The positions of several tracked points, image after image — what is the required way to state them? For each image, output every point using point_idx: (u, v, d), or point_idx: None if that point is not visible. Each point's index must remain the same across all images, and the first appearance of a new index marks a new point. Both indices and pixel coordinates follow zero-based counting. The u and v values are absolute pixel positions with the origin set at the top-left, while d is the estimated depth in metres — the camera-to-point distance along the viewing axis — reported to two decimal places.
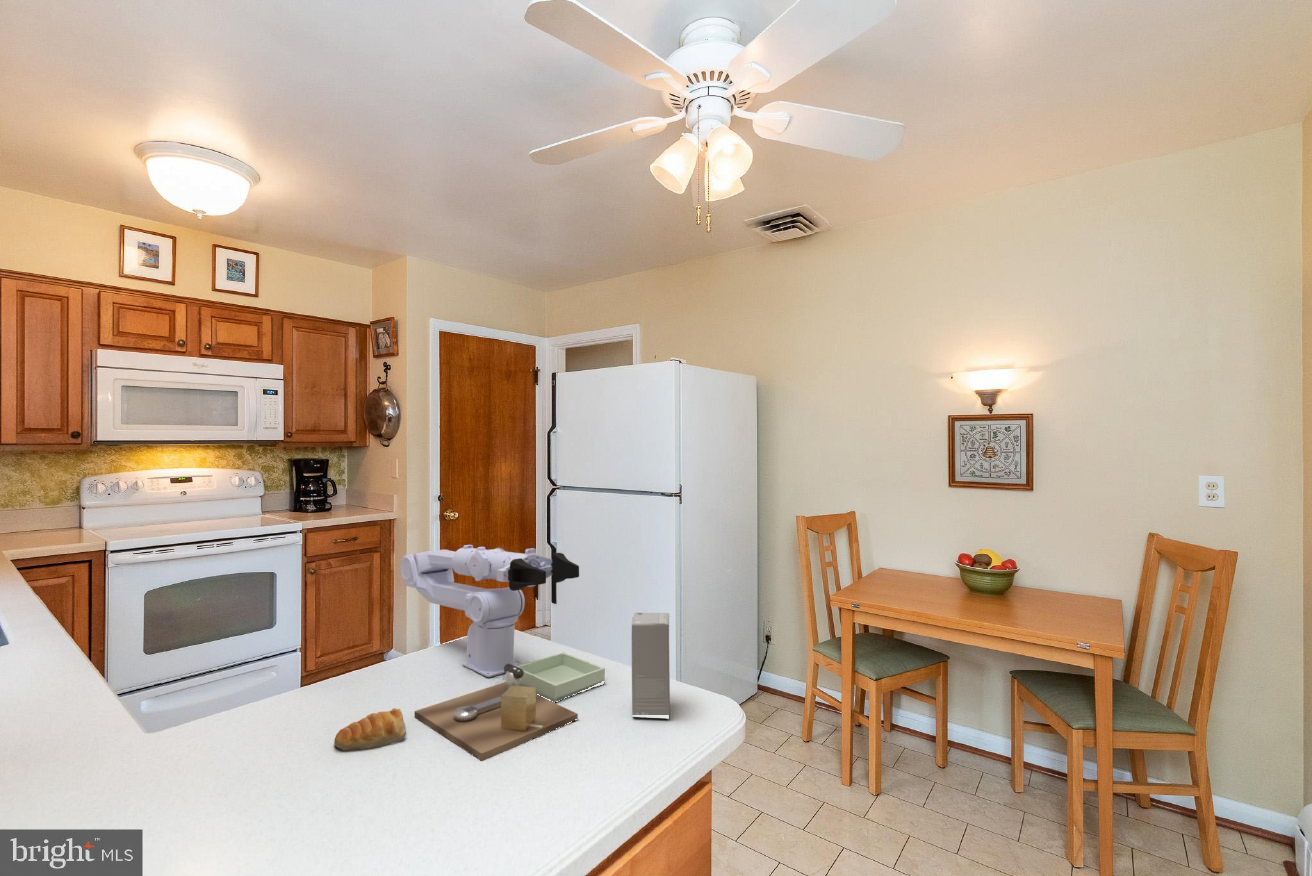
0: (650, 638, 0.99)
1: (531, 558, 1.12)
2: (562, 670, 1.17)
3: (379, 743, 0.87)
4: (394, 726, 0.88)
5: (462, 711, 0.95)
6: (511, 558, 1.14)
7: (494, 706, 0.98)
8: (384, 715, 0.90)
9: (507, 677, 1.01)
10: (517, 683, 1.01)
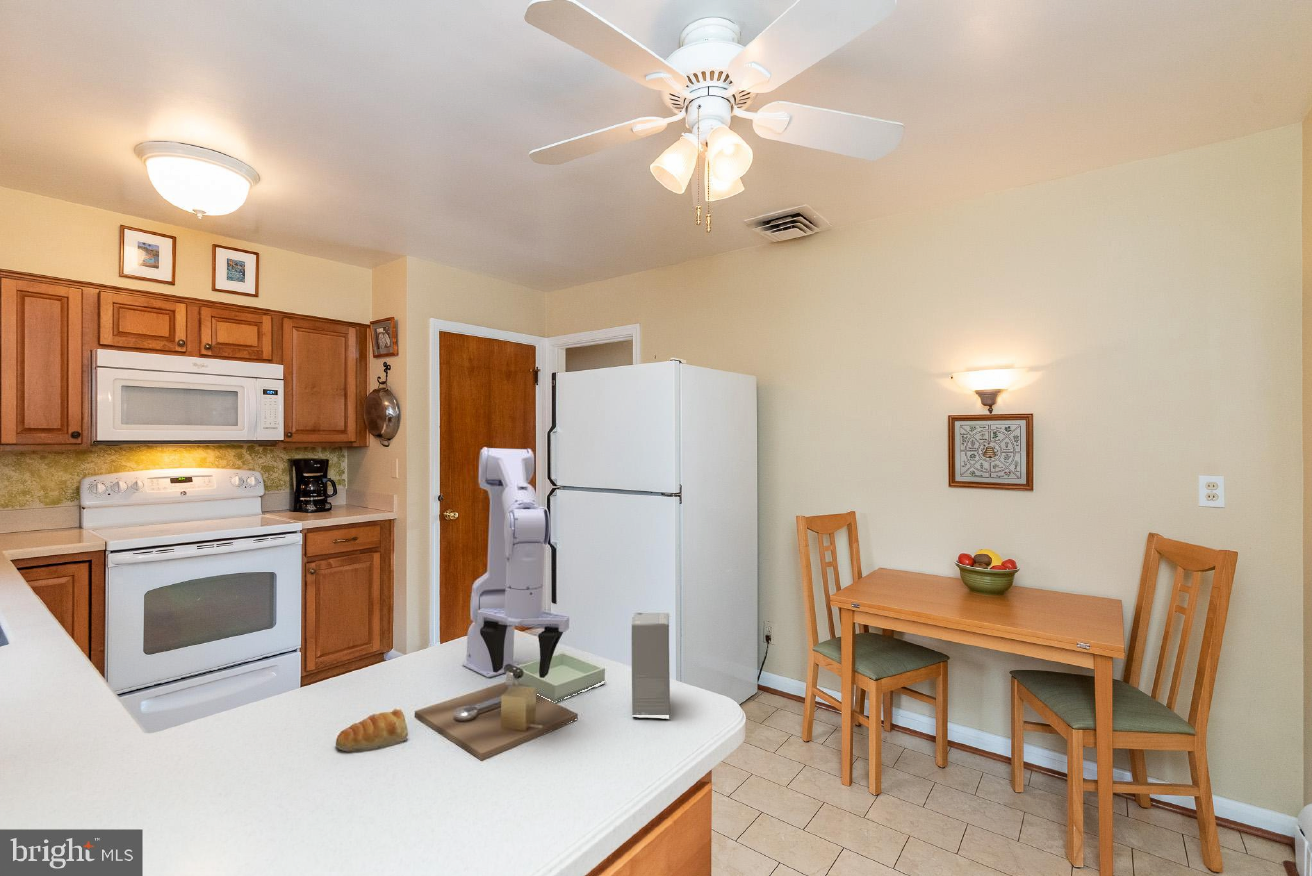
0: (650, 638, 0.99)
1: None
2: (562, 670, 1.17)
3: (381, 744, 0.87)
4: (396, 727, 0.88)
5: (462, 711, 0.95)
6: (507, 596, 0.92)
7: (494, 706, 0.98)
8: (386, 716, 0.89)
9: (507, 677, 1.01)
10: (517, 683, 1.01)
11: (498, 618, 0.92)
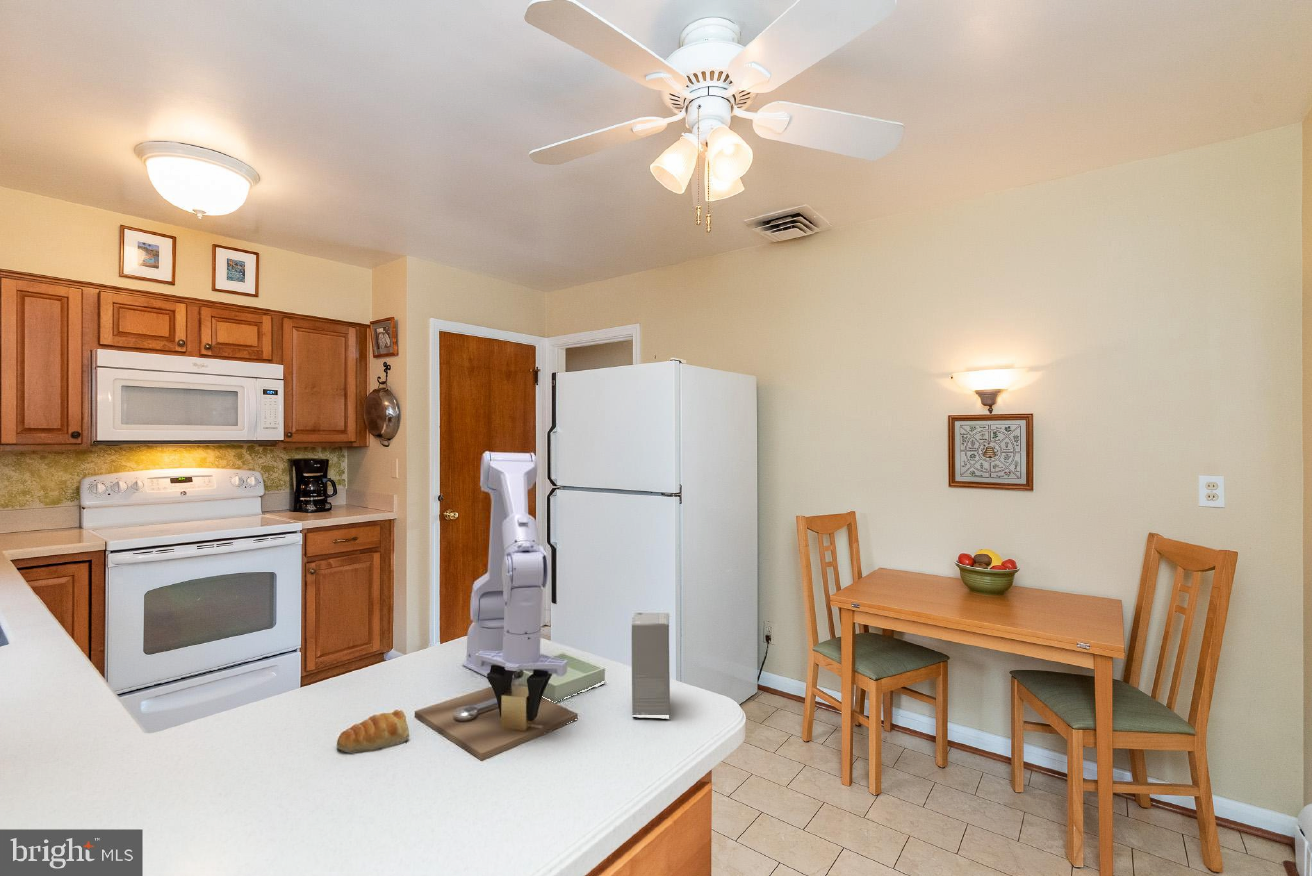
0: (650, 638, 0.99)
1: None
2: None
3: (382, 745, 0.87)
4: (397, 728, 0.88)
5: (462, 711, 0.95)
6: (505, 640, 0.92)
7: (494, 706, 0.98)
8: (387, 716, 0.89)
9: None
10: (517, 683, 1.01)
11: (496, 662, 0.92)
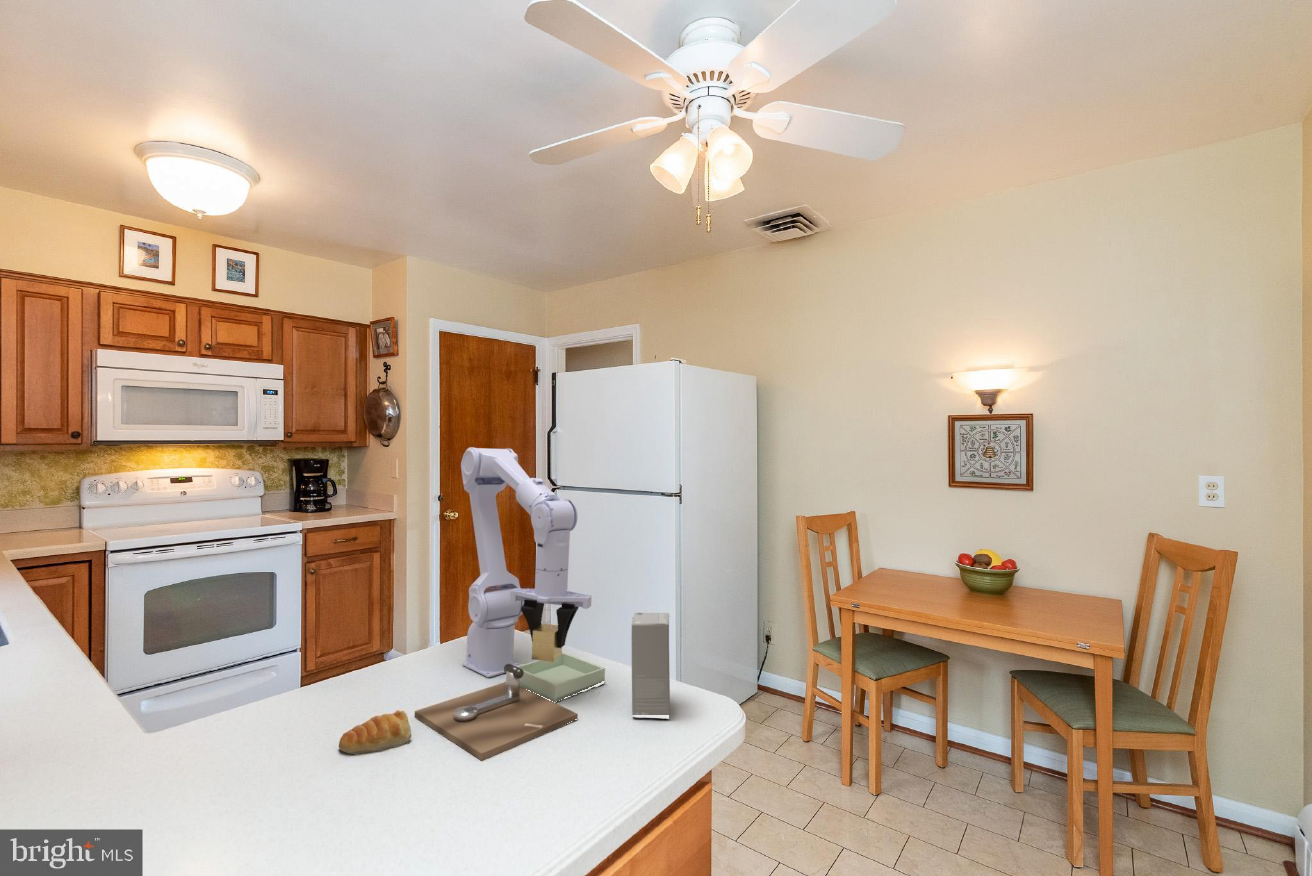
0: (650, 638, 0.99)
1: None
2: (562, 670, 1.17)
3: (385, 746, 0.86)
4: (400, 728, 0.88)
5: (462, 711, 0.95)
6: (537, 577, 1.05)
7: (494, 706, 0.98)
8: (389, 717, 0.89)
9: (507, 677, 1.01)
10: (517, 683, 1.01)
11: (529, 596, 1.05)
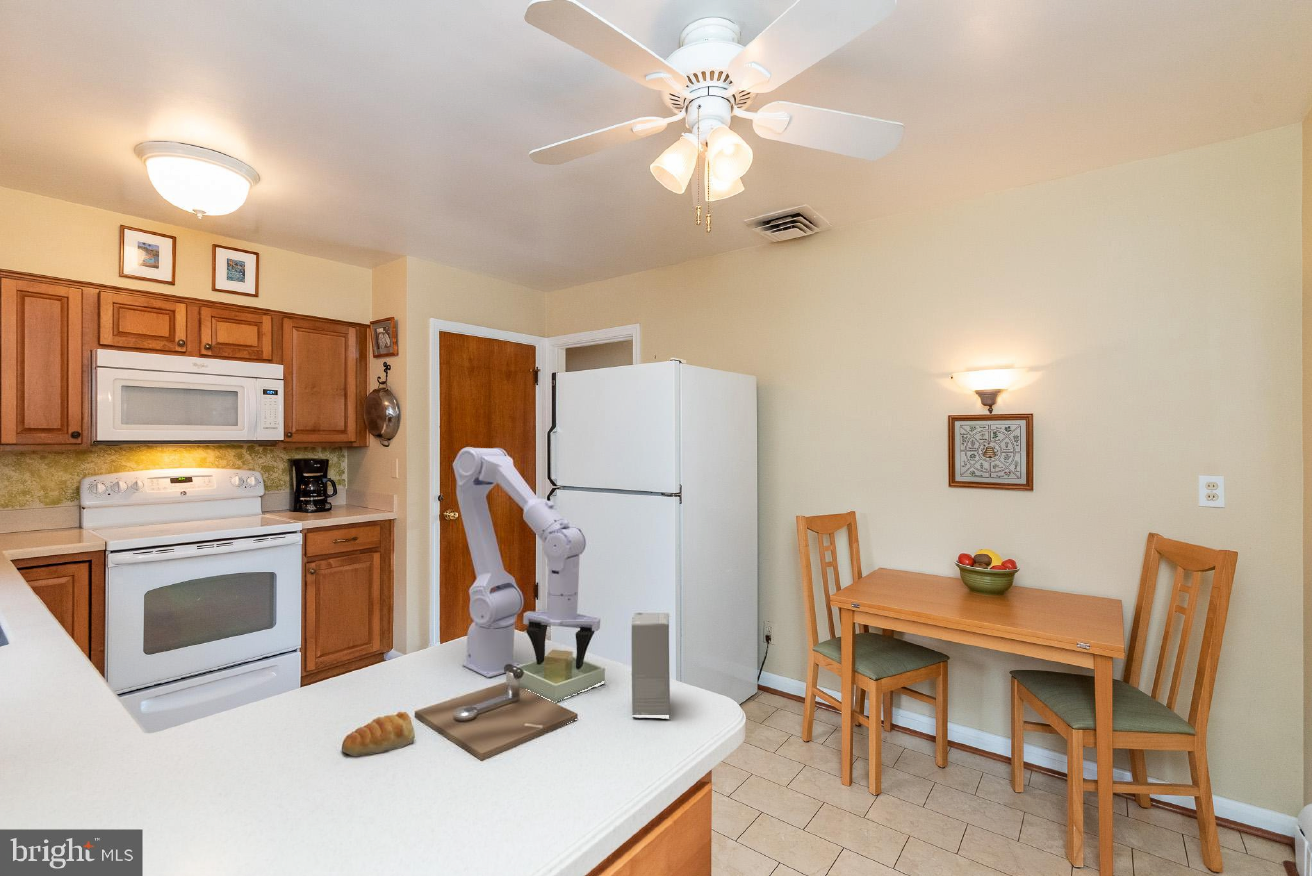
0: (650, 638, 0.99)
1: None
2: None
3: (388, 747, 0.86)
4: (403, 729, 0.87)
5: (462, 711, 0.95)
6: (548, 601, 1.11)
7: (494, 706, 0.98)
8: (391, 718, 0.89)
9: (507, 677, 1.01)
10: (517, 683, 1.01)
11: (541, 619, 1.11)
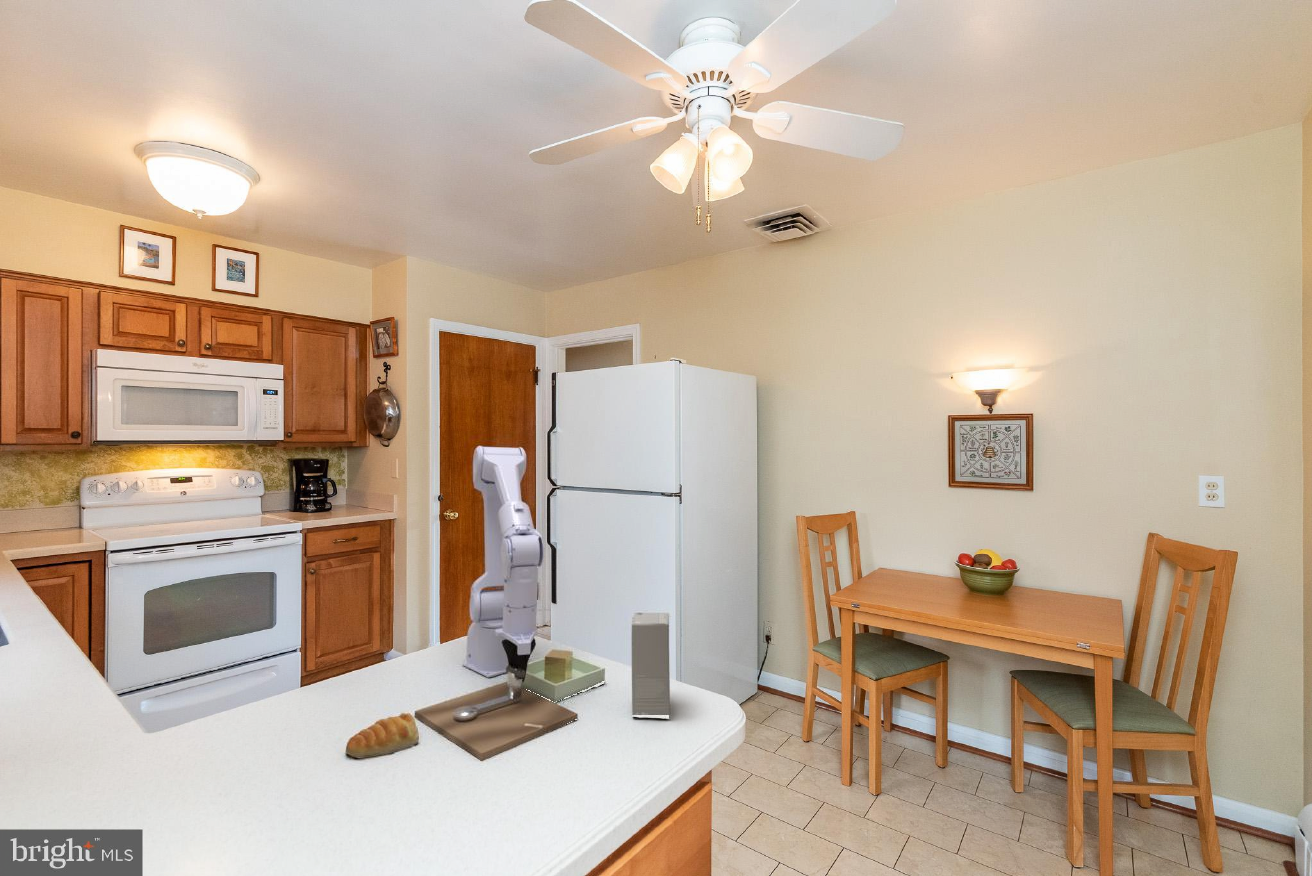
0: (650, 638, 0.99)
1: None
2: None
3: (393, 749, 0.86)
4: (408, 730, 0.87)
5: (462, 711, 0.95)
6: None
7: (495, 707, 0.98)
8: (395, 720, 0.88)
9: (508, 678, 1.01)
10: (518, 684, 1.01)
11: None
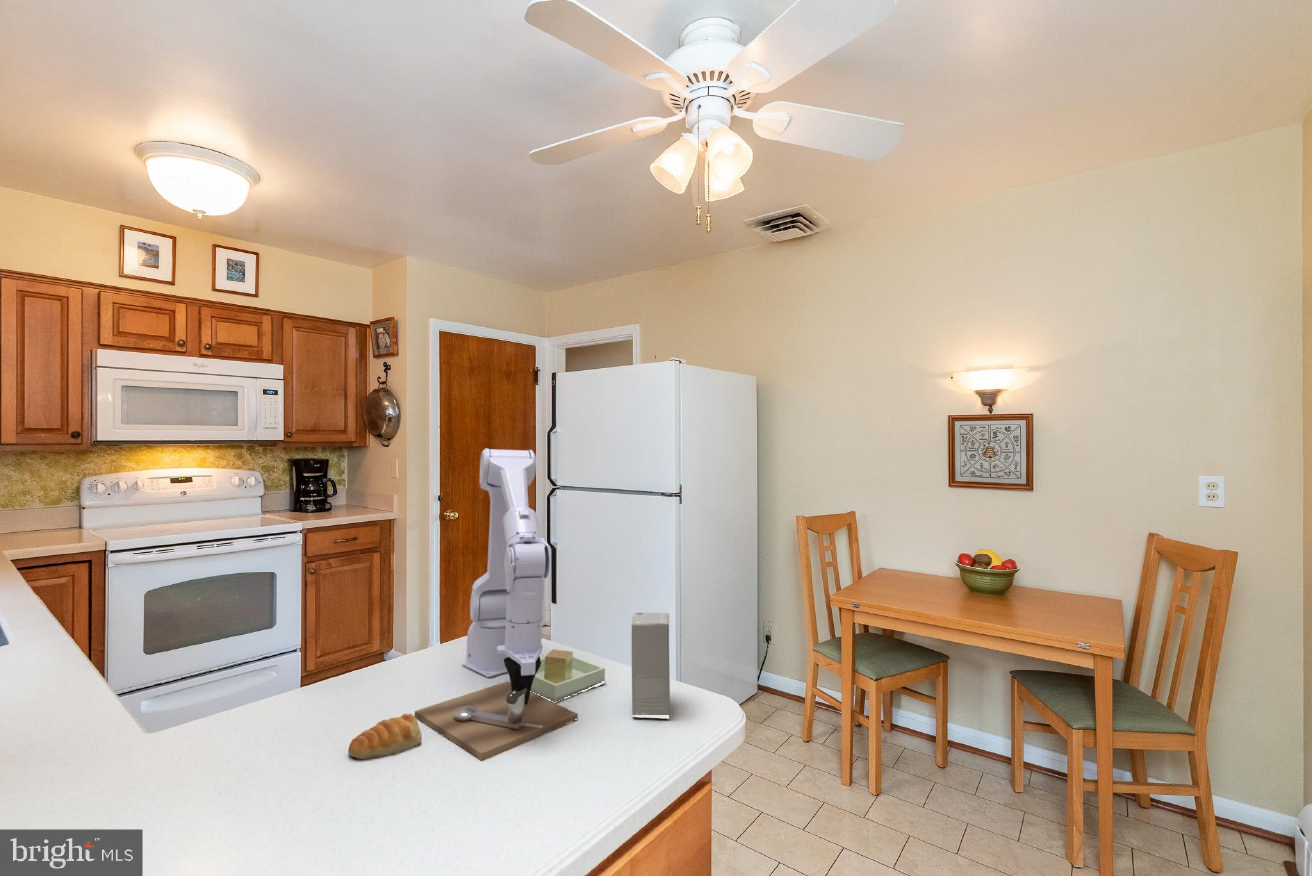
0: (650, 638, 0.99)
1: None
2: None
3: (396, 749, 0.85)
4: (410, 731, 0.87)
5: (463, 710, 0.95)
6: None
7: (489, 721, 0.93)
8: (398, 720, 0.88)
9: None
10: (512, 709, 0.91)
11: None
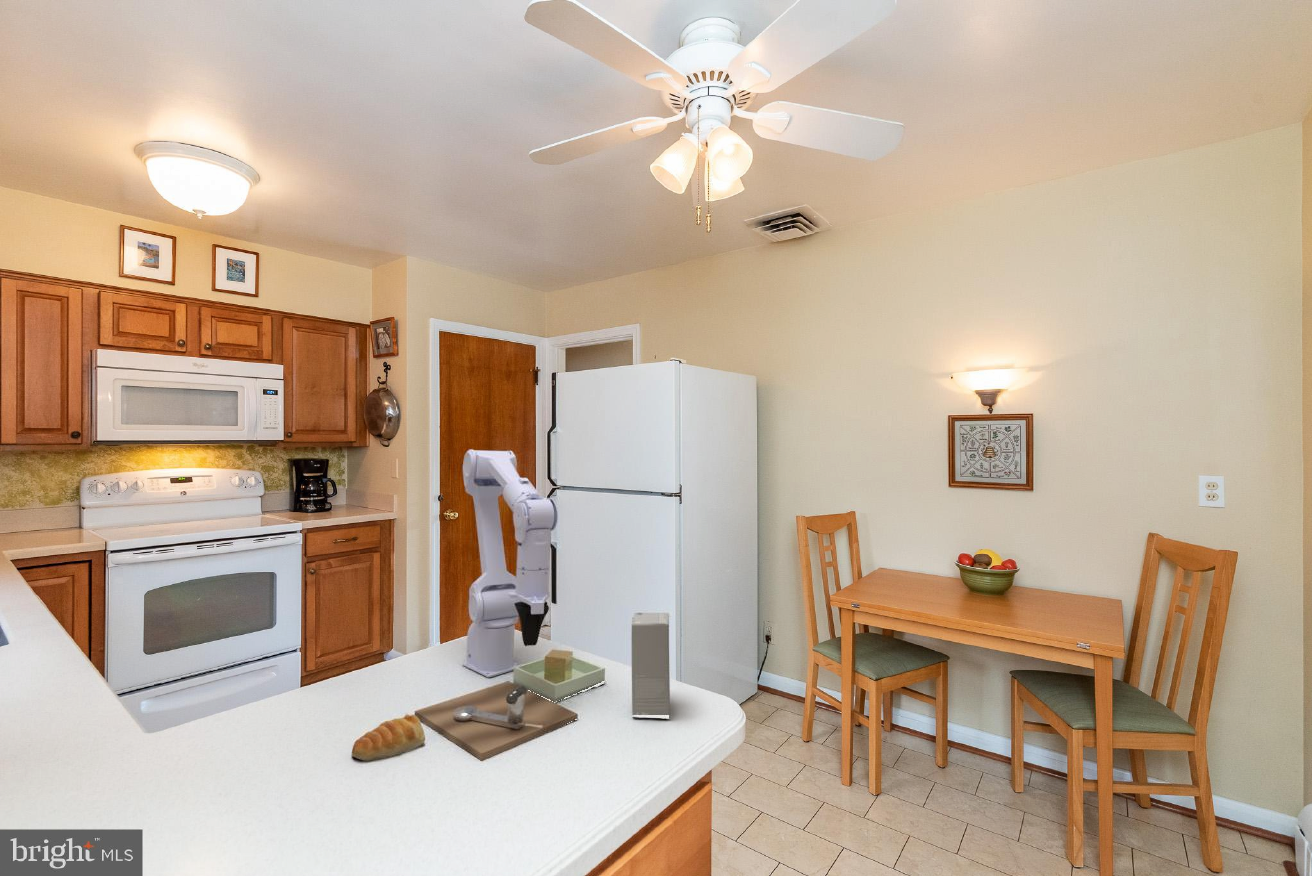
0: (650, 638, 0.99)
1: None
2: None
3: (400, 750, 0.85)
4: (414, 732, 0.87)
5: (463, 710, 0.95)
6: None
7: (489, 721, 0.93)
8: (401, 721, 0.88)
9: None
10: (512, 709, 0.91)
11: None
